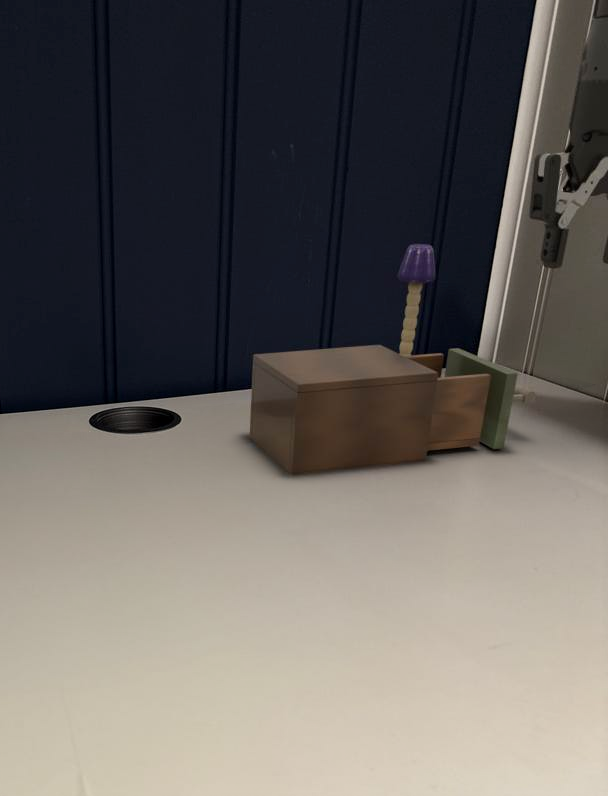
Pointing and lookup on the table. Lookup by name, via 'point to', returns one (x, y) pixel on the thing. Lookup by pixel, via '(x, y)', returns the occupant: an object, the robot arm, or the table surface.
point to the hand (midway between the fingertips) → (582, 265)
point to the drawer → (471, 400)
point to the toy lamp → (414, 288)
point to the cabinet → (341, 408)
